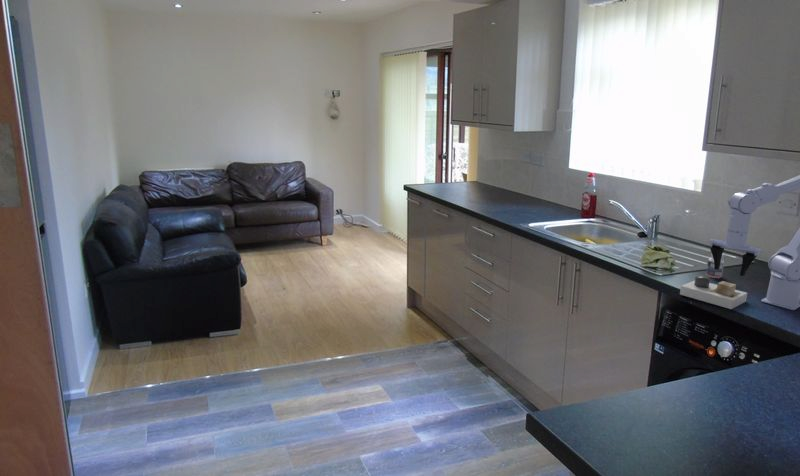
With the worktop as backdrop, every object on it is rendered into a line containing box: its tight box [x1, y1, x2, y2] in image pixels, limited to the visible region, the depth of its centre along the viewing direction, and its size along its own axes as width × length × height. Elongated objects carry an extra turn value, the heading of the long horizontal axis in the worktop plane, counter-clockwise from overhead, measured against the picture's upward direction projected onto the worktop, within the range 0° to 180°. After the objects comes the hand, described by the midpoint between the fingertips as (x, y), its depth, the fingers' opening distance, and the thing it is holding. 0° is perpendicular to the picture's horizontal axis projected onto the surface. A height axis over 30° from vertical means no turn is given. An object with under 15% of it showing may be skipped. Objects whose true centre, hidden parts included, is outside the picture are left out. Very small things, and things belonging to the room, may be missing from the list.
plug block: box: [716, 280, 737, 298], centre depth 184 cm, size 4×4×6 cm
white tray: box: [679, 274, 748, 310], centre depth 186 cm, size 16×12×6 cm
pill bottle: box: [705, 253, 725, 279], centre depth 210 cm, size 5×5×9 cm
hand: (729, 272), depth 182 cm, fingers open, 7 cm apart
